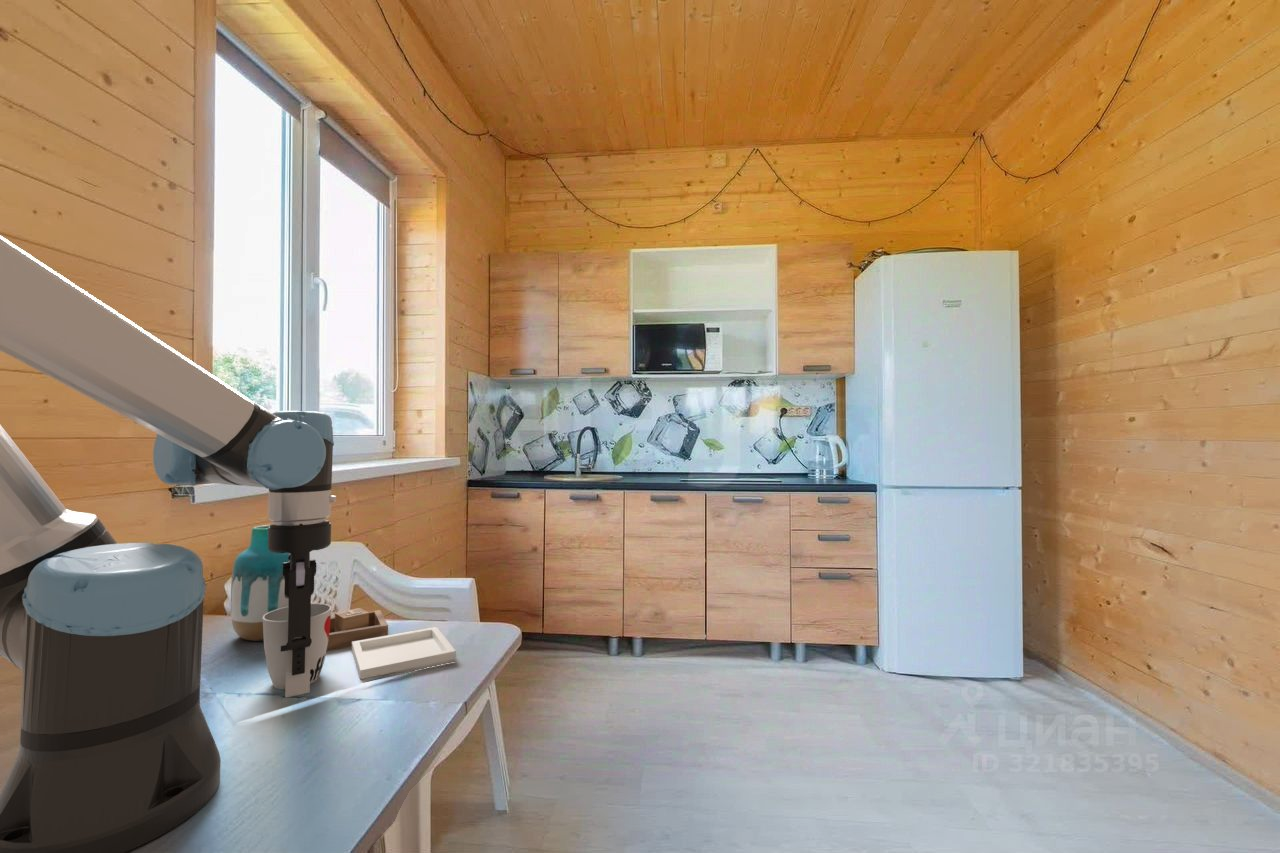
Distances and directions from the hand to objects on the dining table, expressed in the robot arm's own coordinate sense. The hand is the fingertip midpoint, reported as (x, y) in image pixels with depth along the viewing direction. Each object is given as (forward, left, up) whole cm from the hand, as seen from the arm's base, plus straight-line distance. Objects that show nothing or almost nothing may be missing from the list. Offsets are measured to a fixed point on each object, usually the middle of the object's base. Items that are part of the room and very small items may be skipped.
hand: (297, 682), depth 75 cm
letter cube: (+15, -8, 0) cm, 17 cm away
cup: (0, 0, 0) cm, 0 cm away
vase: (+24, +4, 0) cm, 24 cm away
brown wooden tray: (+15, -8, 0) cm, 17 cm away
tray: (+2, -14, 0) cm, 14 cm away
